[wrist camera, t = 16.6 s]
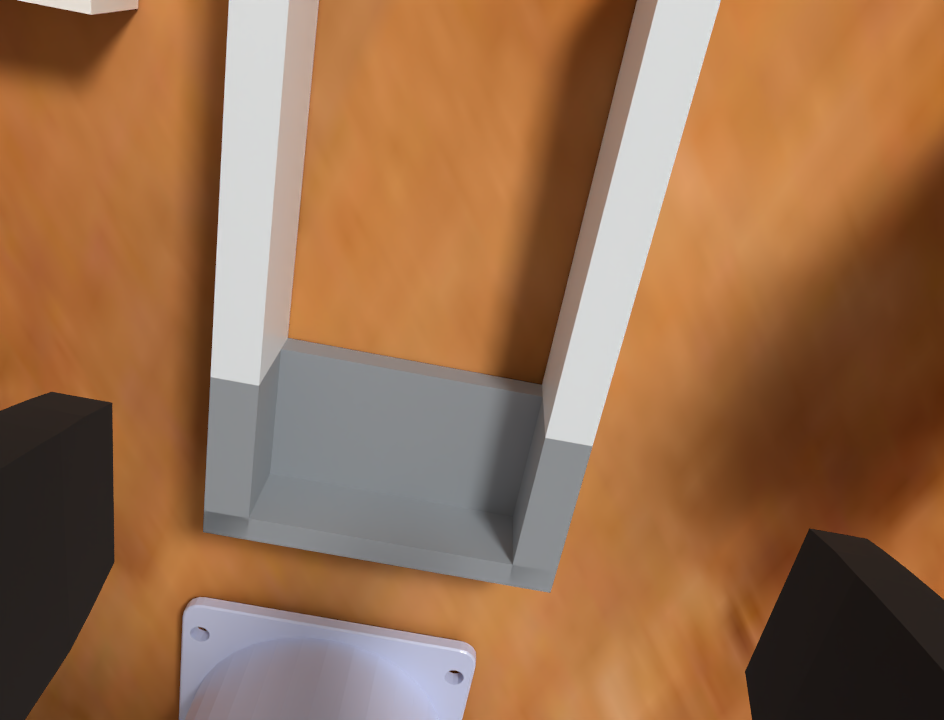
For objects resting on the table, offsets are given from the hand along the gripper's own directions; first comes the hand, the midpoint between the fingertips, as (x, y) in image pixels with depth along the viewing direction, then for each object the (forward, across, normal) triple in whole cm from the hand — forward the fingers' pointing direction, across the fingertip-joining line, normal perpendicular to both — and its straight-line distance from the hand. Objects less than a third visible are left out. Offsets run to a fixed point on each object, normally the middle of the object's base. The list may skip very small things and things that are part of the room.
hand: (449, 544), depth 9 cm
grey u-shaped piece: (+10, +1, +5) cm, 12 cm away
